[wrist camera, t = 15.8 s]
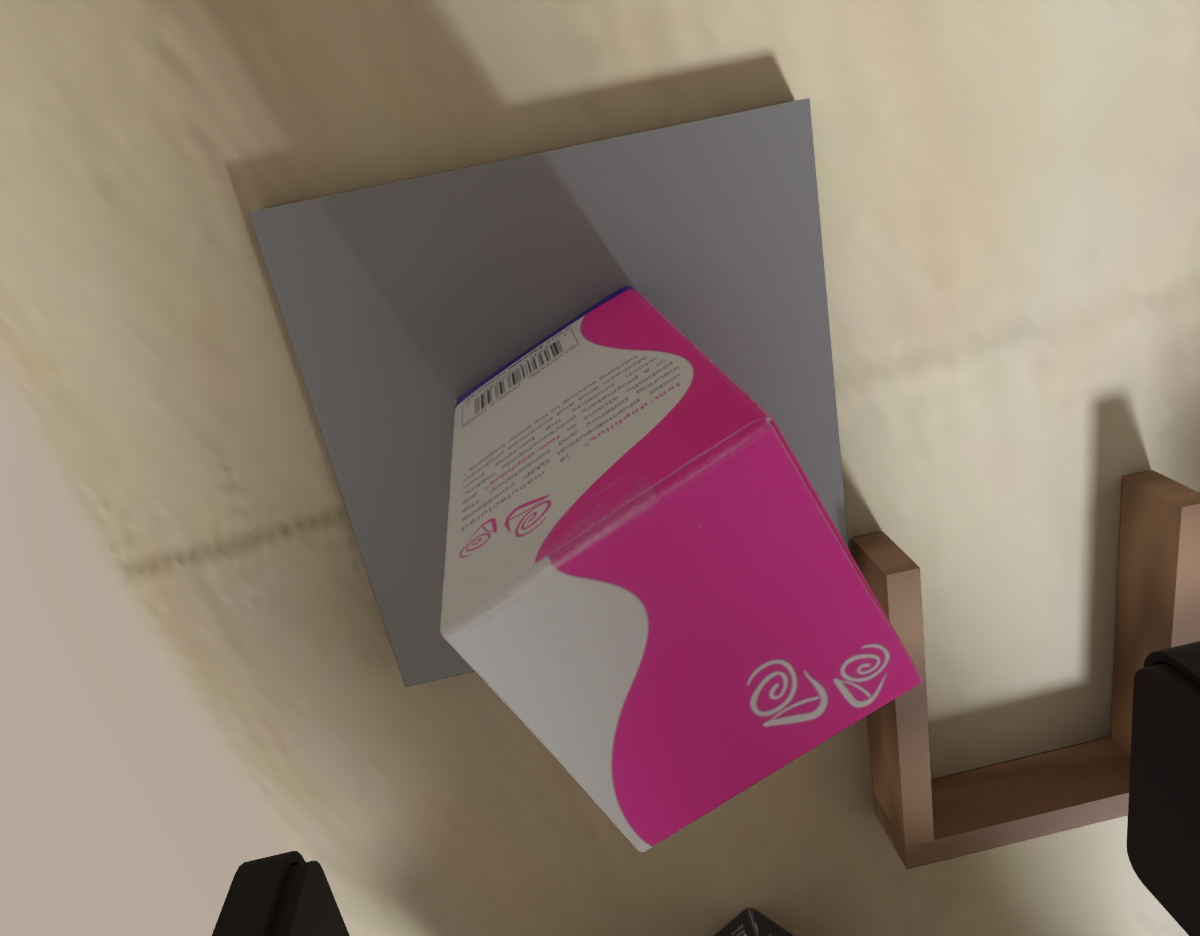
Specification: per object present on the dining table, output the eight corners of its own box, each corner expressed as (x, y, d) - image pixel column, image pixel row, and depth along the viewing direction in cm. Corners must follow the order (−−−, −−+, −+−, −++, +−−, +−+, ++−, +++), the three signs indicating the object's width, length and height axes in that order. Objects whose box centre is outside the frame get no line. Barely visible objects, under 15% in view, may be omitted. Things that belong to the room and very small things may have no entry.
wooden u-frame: (1362, 697, 32) (1431, 740, 29) (875, 815, 31) (907, 869, 29) (1414, 410, 27) (1499, 434, 25) (852, 538, 27) (886, 575, 24)
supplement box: (572, 559, 25) (633, 872, 14) (450, 398, 23) (412, 622, 12) (741, 451, 24) (938, 691, 13) (632, 276, 22) (764, 395, 11)
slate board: (839, 569, 27) (851, 584, 26) (408, 668, 26) (405, 687, 25) (795, 100, 22) (809, 97, 21) (258, 209, 21) (247, 212, 20)
